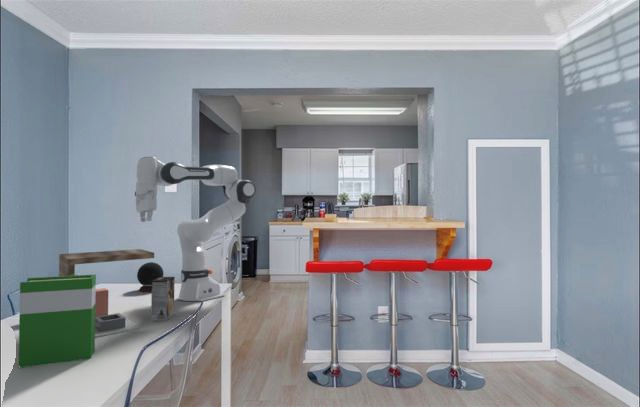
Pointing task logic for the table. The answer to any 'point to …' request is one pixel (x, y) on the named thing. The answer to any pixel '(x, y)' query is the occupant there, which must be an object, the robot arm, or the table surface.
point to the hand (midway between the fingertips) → (145, 221)
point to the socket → (112, 325)
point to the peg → (101, 302)
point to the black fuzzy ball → (149, 275)
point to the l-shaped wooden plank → (98, 258)
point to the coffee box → (162, 299)
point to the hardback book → (56, 319)
